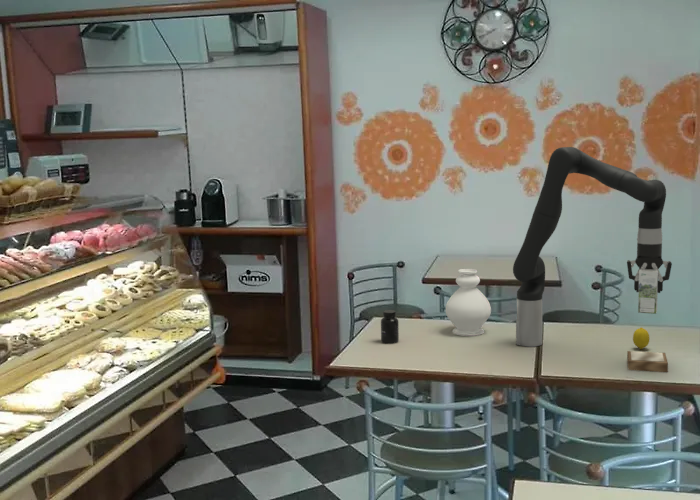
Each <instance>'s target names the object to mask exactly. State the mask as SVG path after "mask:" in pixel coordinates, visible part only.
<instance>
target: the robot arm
mask: <svg viewBox="0 0 700 500" xmlns="http://www.w3.org/2000/svg"><path fill="white" fill-rule="evenodd" d="M569 174H579V175H584V176H587V177H591V178H593V179H595V180H596V181H598V182H600V183H601V184H603V185H604V186H606V187H607V188H608V187H609V188H611V189H614V190H615V191H618V192H621V193H624V194H627V196H629V197H631V198H632V199H635V200H637V201H639V202H642V203H643V208H642V209H641V210H640V211H639V214H638V229H637V238H636V242H637V245H636V258H635V260H630V259H628V260H627V262H626V266H627V267H626V268H627V274H628V278H629V280H632V281H634V282H633V283H634V286H633V289H634V291H636V293H639V269H640V270H642V269H643V270H645V269H654V270H657V271H658V294H661V292H663V290H664V289H663V287H664V286H663V285H664V283H663V282H665V281H669V280H670V276H671V271H672V266H673V263H672V261H671V260H668V261H666V260H663V258H662V256H663V252H662V251H663V250H662V249H663V232H662V231H663V230H662V226H663V225H662V222H663V211H664V208H665V203H666V198H667V189H666V185H665V184H664V182H662V181H661V180H659V179H649V180H646V179H644V178H640V177H638V176H637V174H636V173H633V172H631V171H629V170H626V169H624V168H621V167H617V166H614V165H611V164H609V163H606V162H603V161H602V160H598V159H596V158H595V157H593V156H591V155H589V154H587V153H586V152H584V151H583V150H580V149H579V148H576V147H575V146H574V147H573V146H563V147H558V148H556V149H554V150H553V151H552V153H551V155H550V157H549V161H548V165H547V169H546V173H545V178H544V182H543V184H542V187H541V191H540V193H539V195H538V196H539V197H538V199H537V203H536V205H535V208H534V211H533V213H532V216H531V219H530V222H529V225H528V228H527V232H526V234H525V238H524V240H523V243H522V245H521V248H520V250H519V251H518V253H517V256H516V258H515V260H514V262H513V266H512V273H513V277H514V278H515V279H516V280H517V281H518V282H521V285H520V287H519V288H518V290H517V291H516V319H515V337H516V338H515V345H517V346H523V347H530V348H531V347H539V346H541V345H543V294H544V292H545V287H546V285H545V284H546V266H545V262H544V260H543V258H542V257H541V256H540V254H541V252H542V250H543V248H544V247H545V245H546V243H547V242H549V239H550V238H551V237H552V235H553V234H554V233H555V231H556V229H557V227H558V224H559V221H560V218H561V215H562V212H563V197H562V195H563V194H562V192H563V188H564V185H565V183H566V180H567V178H568V175H569ZM635 265H637V268H638V270H637V272H636V274H635V275H633V269H632V268H634V267H635ZM662 265H663V267H664V268H665V274H664V275H663V276H662V274H661V273H660V268H661V267H662Z"/></svg>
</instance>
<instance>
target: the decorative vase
mask: <svg viewBox="0 0 700 500" xmlns="http://www.w3.org/2000/svg"><path fill="white" fill-rule="evenodd" d="M457 273H458V274H459V275H458V276H457V277H456V278H455V283H456V284H457V285H458V286H459V287H458V288H457V289H456V290H455V291H454V292H453V293H452V295H451V296H450V298H449V299H448V301H447V302H446V304H445V315H446V317H447V318H448V320H449V321H450V322H451V323H452V325H454V327H455V328H453V329H452V334H453V335H458V336H463V337H476V336H482V335H483V334H484V333H485V329H483V328H482V327H483V325H484V324H485V323H486V322H487V320H488V319H489V318H490V316H491V313H492V308H491V304H490V302H489V300H488V298H487V296H485V294H483V293H482V291H481V290H479V288H477V286H478V285H479V284H480V282H481V279H480V277H479V276H478V275H477V274H478V269H475V268H461V269H460V268H459V269H458V270H457Z"/></svg>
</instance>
